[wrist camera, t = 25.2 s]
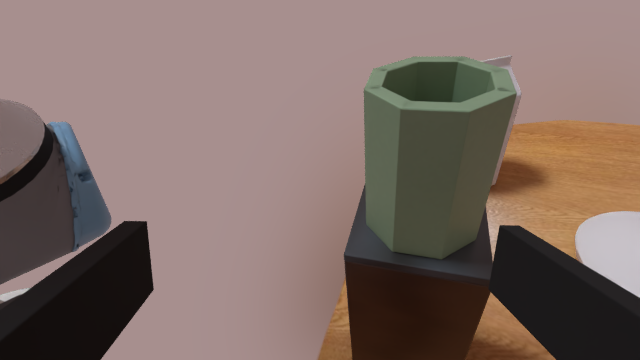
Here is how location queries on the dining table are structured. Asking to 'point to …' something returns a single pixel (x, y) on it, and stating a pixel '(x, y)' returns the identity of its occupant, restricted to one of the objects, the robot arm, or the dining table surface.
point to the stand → (414, 296)
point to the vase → (612, 247)
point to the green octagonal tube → (433, 150)
